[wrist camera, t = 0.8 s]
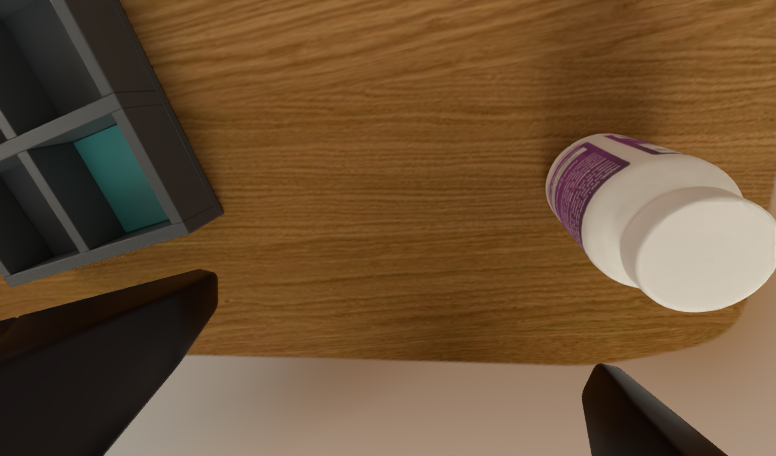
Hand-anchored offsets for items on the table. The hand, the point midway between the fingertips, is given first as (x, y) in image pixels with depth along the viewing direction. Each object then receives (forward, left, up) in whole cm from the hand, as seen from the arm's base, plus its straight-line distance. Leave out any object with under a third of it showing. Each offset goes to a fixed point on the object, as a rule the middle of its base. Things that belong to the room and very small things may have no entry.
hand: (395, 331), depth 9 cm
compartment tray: (+9, +21, -14) cm, 27 cm away
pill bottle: (-3, -9, -14) cm, 17 cm away
